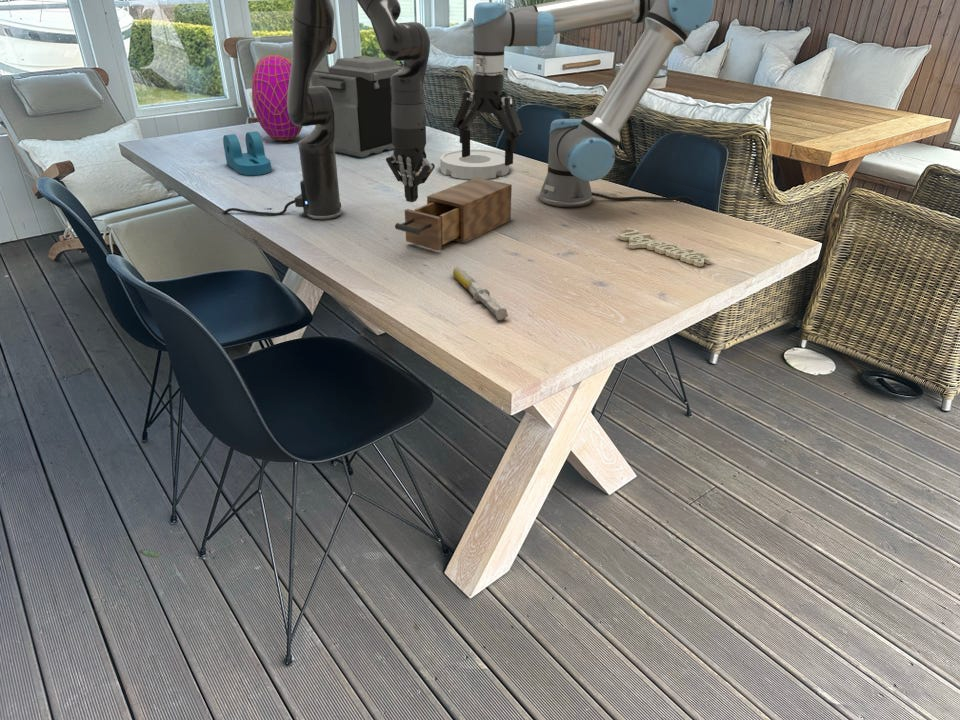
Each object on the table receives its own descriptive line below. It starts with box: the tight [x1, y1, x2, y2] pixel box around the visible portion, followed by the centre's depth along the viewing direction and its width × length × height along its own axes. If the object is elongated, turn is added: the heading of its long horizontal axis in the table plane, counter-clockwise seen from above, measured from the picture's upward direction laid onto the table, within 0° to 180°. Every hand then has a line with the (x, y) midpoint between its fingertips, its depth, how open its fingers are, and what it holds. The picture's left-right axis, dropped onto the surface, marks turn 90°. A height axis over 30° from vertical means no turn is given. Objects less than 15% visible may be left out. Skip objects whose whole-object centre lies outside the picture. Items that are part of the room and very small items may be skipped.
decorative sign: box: [618, 227, 711, 267], centre depth 169 cm, size 26×1×10 cm
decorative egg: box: [251, 54, 304, 142], centre depth 257 cm, size 19×19×30 cm
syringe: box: [452, 266, 509, 321], centre depth 145 cm, size 25×4×3 cm, turn 21°
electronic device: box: [311, 55, 403, 159], centre depth 250 cm, size 37×22×30 cm, turn 144°
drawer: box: [394, 202, 461, 251], centre depth 171 cm, size 26×10×8 cm, turn 145°
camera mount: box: [222, 131, 272, 176], centre depth 226 cm, size 18×10×10 cm, turn 35°
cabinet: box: [426, 177, 513, 244], centre depth 180 cm, size 22×12×10 cm, turn 145°
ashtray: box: [439, 148, 510, 180], centre depth 230 cm, size 23×23×4 cm
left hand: (411, 201), depth 159 cm, fingers closed
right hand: (487, 160), depth 179 cm, fingers open, 13 cm apart
